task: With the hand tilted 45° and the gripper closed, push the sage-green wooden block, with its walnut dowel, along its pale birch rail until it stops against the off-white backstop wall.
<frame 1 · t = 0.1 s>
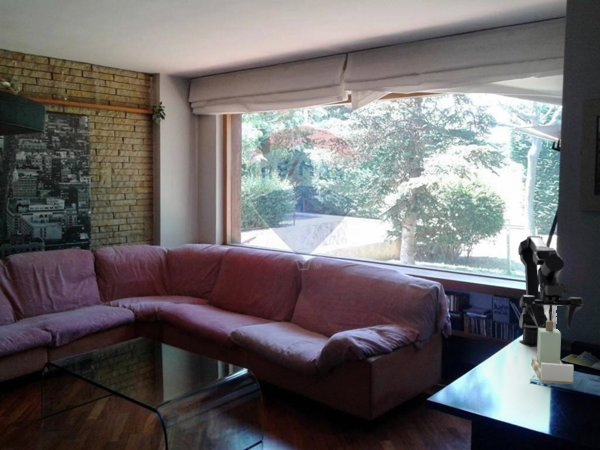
hand: (553, 327, 175), 15 cm above the table, tool tilted 35°, fingers open, 9 cm apart
sliding block: (548, 343, 178), point 9 cm above the table, slide at 0.0 cm
birch rail: (550, 374, 174), on the table
backstop wall: (556, 383, 167), resting on birch rail
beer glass: (551, 337, 216), on the table
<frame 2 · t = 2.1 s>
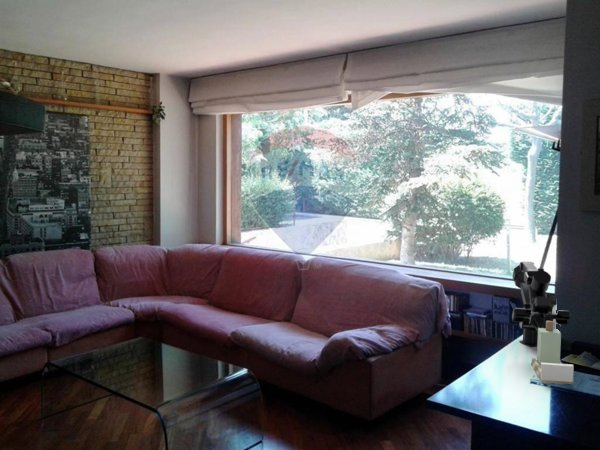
hand: (543, 337, 186), 9 cm above the table, tool tilted 45°, fingers closed
nothing on the table moved.
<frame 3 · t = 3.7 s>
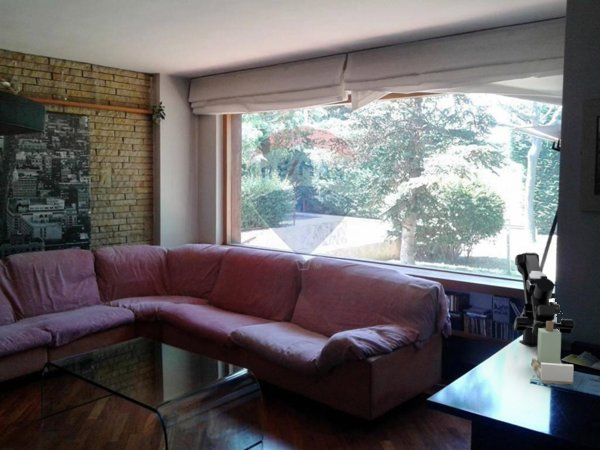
hand: (547, 347, 181), 7 cm above the table, tool tilted 45°, fingers closed, pressing on sliding block
sliding block: (549, 344, 178), point 9 cm above the table, slide at 0.3 cm, touching gripper
everything else where it was.
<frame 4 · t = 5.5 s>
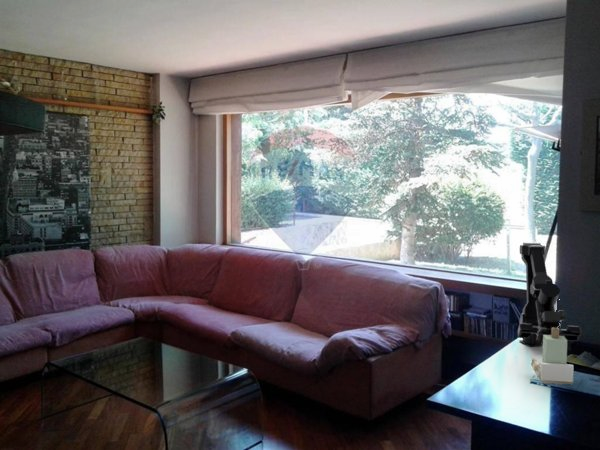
hand: (552, 355, 173), 7 cm above the table, tool tilted 45°, fingers closed, pressing on sliding block
sliding block: (554, 351, 170), point 9 cm above the table, slide at 8.2 cm, touching gripper
everything else where it was.
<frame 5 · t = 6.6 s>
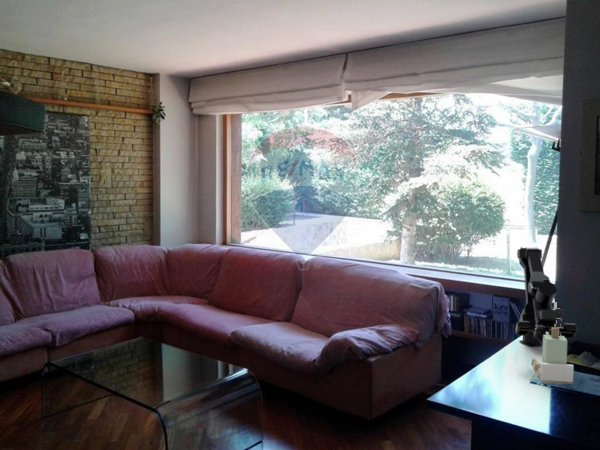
hand: (549, 352, 178), 6 cm above the table, tool tilted 45°, fingers closed
sliding block: (554, 351, 170), point 9 cm above the table, slide at 8.2 cm
everything else where it was.
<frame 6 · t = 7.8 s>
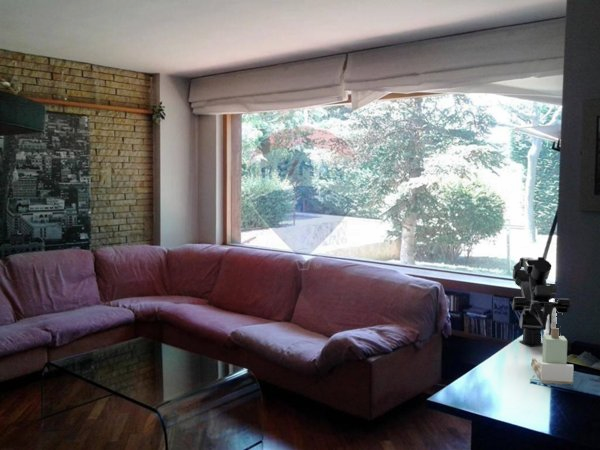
hand: (543, 325, 186), 13 cm above the table, tool tilted 45°, fingers closed
nothing on the table moved.
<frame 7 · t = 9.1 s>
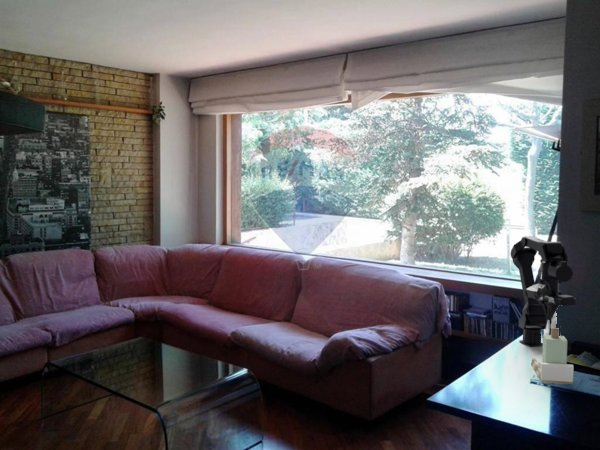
hand: (548, 319, 192), 13 cm above the table, tool pointing down, fingers closed
nothing on the table moved.
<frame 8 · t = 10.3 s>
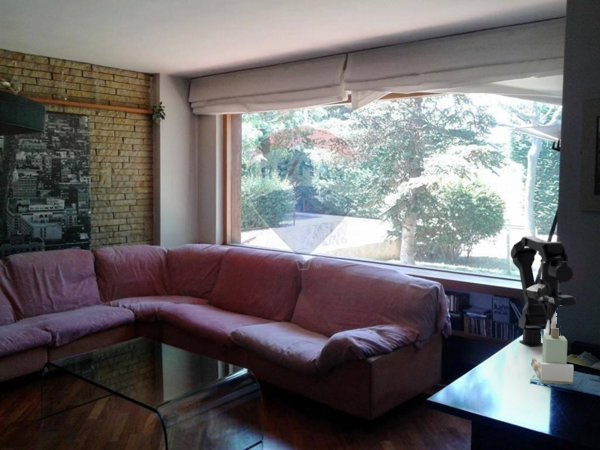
hand: (548, 319, 192), 13 cm above the table, tool pointing down, fingers closed
nothing on the table moved.
at the end: sliding block slide at 8.2 cm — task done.
